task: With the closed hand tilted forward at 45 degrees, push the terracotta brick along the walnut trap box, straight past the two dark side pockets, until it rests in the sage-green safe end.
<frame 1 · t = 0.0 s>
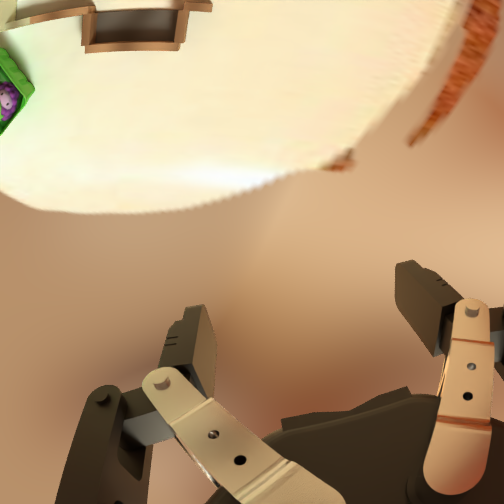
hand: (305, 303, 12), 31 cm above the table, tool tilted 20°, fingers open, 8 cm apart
fruit basket: (7, 83, 28), on the table
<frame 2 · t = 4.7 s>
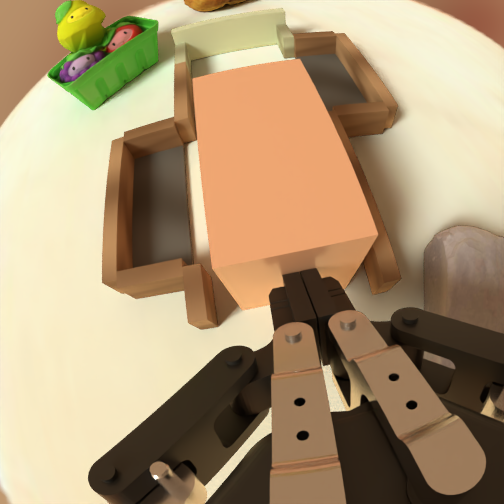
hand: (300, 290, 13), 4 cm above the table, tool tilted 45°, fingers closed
safe end: (242, 82, 25), on the table
trap box: (256, 136, 22), on the table
bread roll: (228, 1, 34), on the table
stone block: (479, 336, 16), on the table
terracotta brick: (275, 215, 20), on the table, touching gripper
fruit basket: (114, 79, 29), on the table
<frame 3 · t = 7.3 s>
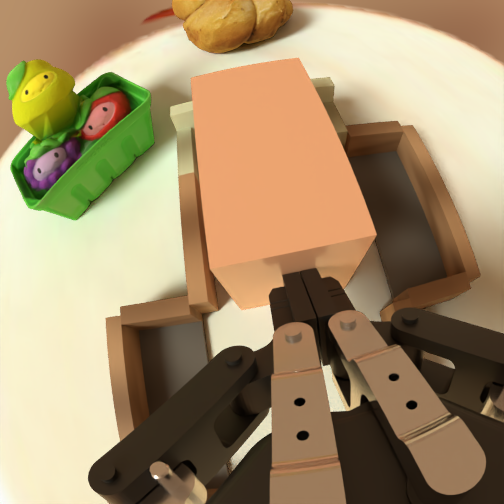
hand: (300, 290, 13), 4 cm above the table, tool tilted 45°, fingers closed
safe end: (275, 204, 20), on the table
trap box: (300, 312, 17), on the table
bread roll: (244, 36, 29), on the table
terracotta brick: (274, 214, 20), on the table, touching gripper
fruit basket: (98, 165, 24), on the table
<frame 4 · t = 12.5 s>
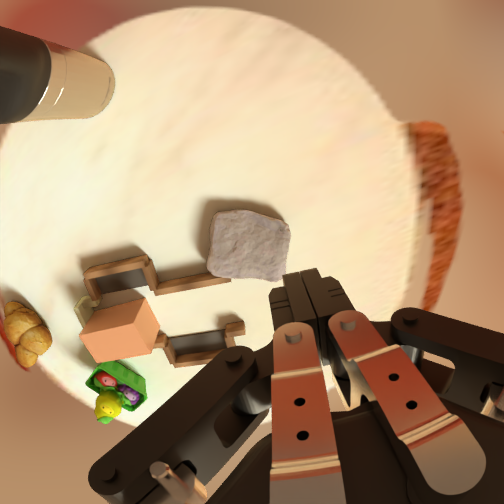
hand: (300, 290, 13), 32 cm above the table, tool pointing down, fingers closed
safe end: (126, 317, 51), on the table
trap box: (162, 312, 51), on the table
bread roll: (32, 321, 52), on the table
stone block: (248, 239, 47), on the table
terracotta brick: (126, 318, 51), on the table
fruit basket: (121, 374, 57), on the table
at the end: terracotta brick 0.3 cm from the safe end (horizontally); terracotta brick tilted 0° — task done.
